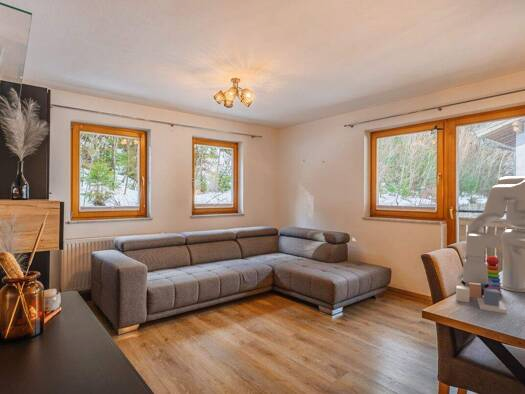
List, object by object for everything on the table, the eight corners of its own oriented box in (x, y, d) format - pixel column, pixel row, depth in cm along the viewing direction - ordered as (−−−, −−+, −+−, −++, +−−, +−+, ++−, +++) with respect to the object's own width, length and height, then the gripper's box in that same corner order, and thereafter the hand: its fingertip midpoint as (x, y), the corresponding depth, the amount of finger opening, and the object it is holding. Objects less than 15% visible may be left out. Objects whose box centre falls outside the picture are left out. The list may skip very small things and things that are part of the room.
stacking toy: (505, 294, 154) (506, 257, 154) (489, 294, 154) (490, 257, 154) (494, 289, 162) (494, 254, 161) (478, 289, 162) (479, 254, 162)
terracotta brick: (467, 293, 155) (468, 282, 155) (479, 295, 153) (480, 283, 153) (468, 296, 151) (469, 284, 151) (481, 298, 148) (481, 286, 148)
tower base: (477, 300, 145) (477, 285, 145) (501, 304, 141) (501, 288, 141) (480, 309, 135) (480, 292, 135) (506, 313, 131) (506, 296, 130)
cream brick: (456, 297, 150) (456, 285, 150) (468, 299, 148) (468, 286, 147) (456, 300, 146) (456, 288, 146) (469, 302, 143) (469, 289, 143)
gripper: (455, 258, 152) (454, 294, 153) (498, 262, 144) (497, 301, 144) (454, 255, 159) (453, 290, 159) (495, 259, 150) (494, 296, 151)
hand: (474, 295), depth 152 cm, fingers closed on terracotta brick, 5 cm apart
